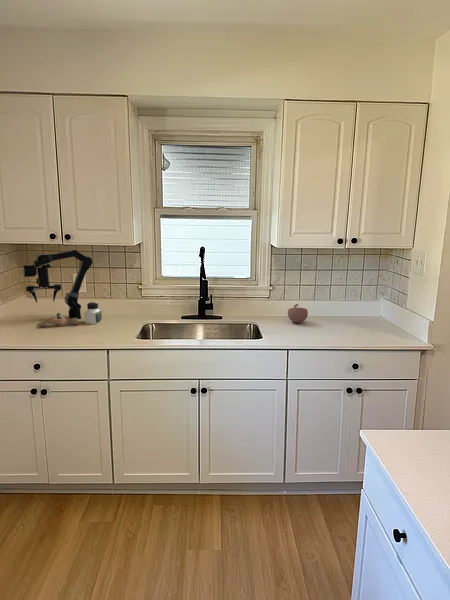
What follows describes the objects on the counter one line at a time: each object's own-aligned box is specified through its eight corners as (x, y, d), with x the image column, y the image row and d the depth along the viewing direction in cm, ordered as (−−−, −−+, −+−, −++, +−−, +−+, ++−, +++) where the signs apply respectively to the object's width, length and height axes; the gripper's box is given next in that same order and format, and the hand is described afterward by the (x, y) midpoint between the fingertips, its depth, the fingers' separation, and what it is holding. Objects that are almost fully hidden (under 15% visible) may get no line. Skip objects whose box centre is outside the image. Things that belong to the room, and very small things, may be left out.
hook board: (77, 320, 247) (76, 309, 246) (77, 325, 237) (77, 314, 235) (41, 322, 241) (40, 312, 239) (39, 328, 230) (39, 317, 228)
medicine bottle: (96, 324, 239) (95, 304, 237) (85, 323, 240) (83, 303, 238) (102, 321, 246) (101, 301, 244) (91, 320, 247) (89, 301, 245)
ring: (65, 319, 242) (64, 316, 242) (65, 322, 236) (64, 319, 236) (53, 320, 240) (53, 317, 240) (53, 323, 234) (52, 320, 234)
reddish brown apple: (305, 320, 254) (306, 302, 252) (308, 325, 242) (309, 306, 240) (286, 319, 254) (286, 302, 252) (288, 325, 243) (289, 306, 240)
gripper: (60, 273, 248) (62, 298, 251) (26, 274, 242) (29, 300, 245) (60, 275, 238) (62, 302, 241) (24, 277, 232) (27, 304, 235)
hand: (45, 301), depth 241 cm, fingers open, 9 cm apart
